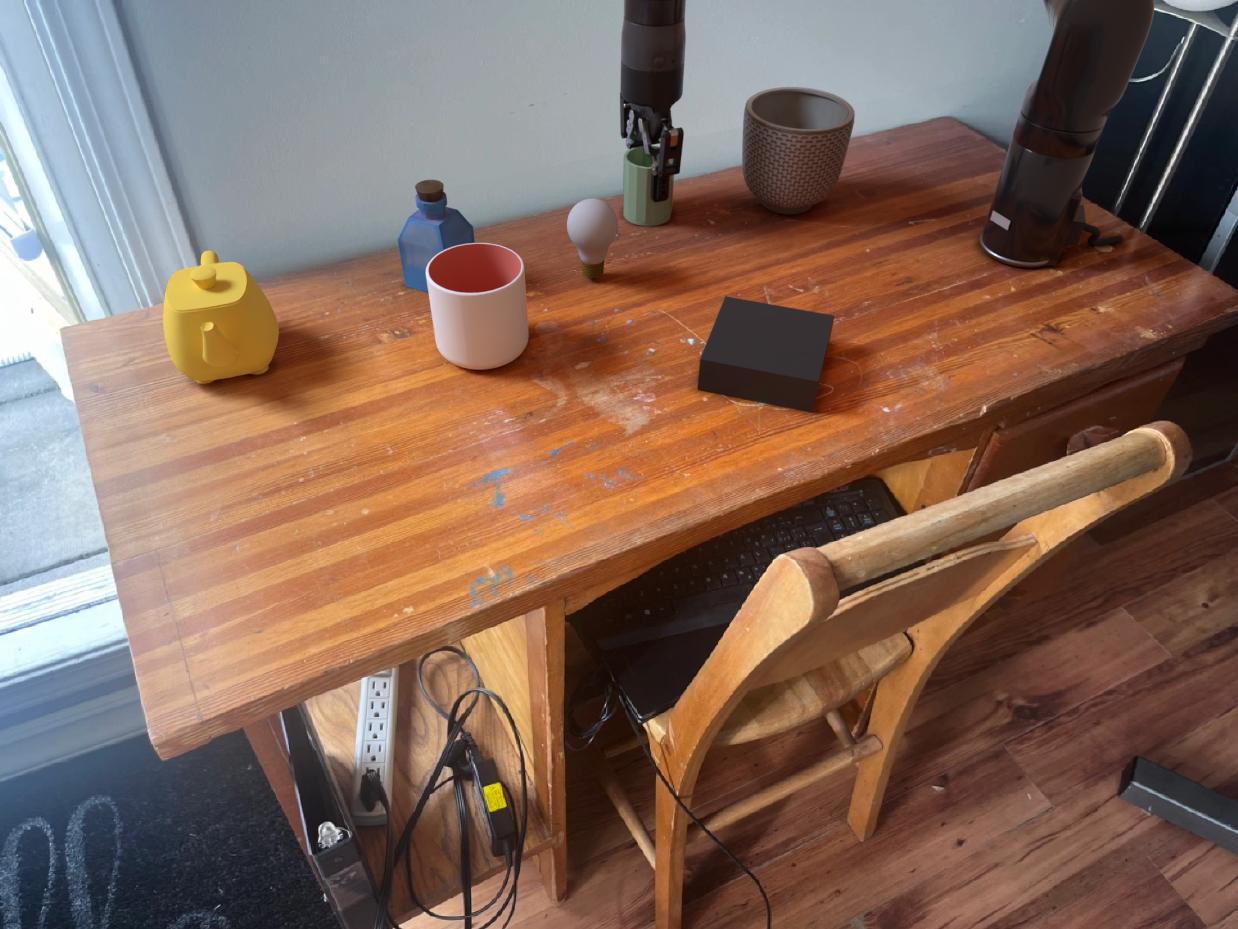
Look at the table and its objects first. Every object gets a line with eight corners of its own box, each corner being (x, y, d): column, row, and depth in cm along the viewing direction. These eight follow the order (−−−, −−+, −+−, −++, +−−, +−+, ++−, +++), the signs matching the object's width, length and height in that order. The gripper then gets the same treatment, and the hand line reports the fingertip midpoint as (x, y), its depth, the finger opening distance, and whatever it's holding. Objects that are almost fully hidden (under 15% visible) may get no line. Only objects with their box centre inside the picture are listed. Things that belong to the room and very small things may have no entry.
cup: (514, 381, 99) (508, 300, 92) (423, 368, 100) (410, 287, 93) (539, 327, 106) (535, 248, 99) (454, 315, 107) (444, 237, 100)
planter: (728, 220, 124) (738, 124, 115) (741, 173, 134) (751, 81, 125) (834, 234, 122) (853, 137, 113) (840, 184, 131) (857, 91, 123)
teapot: (291, 403, 95) (265, 315, 88) (176, 425, 93) (139, 336, 85) (279, 307, 108) (256, 223, 100) (177, 324, 105) (145, 238, 98)
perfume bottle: (477, 273, 114) (468, 180, 105) (450, 298, 110) (437, 204, 101) (434, 261, 116) (421, 168, 107) (405, 286, 111) (389, 192, 103)
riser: (828, 345, 104) (834, 315, 101) (812, 412, 96) (818, 381, 93) (722, 326, 106) (725, 295, 104) (697, 389, 98) (699, 358, 95)
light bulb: (627, 277, 113) (629, 201, 107) (593, 297, 110) (592, 219, 103) (592, 259, 116) (591, 183, 109) (558, 277, 113) (555, 201, 106)
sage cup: (676, 206, 126) (680, 149, 121) (664, 229, 122) (667, 171, 116) (630, 199, 128) (632, 142, 122) (617, 221, 123) (617, 163, 118)
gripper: (709, 73, 107) (698, 207, 119) (656, 32, 117) (651, 159, 128) (649, 83, 105) (644, 218, 116) (600, 39, 114) (600, 168, 126)
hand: (647, 187), depth 122 cm, fingers closed on sage cup, 6 cm apart
